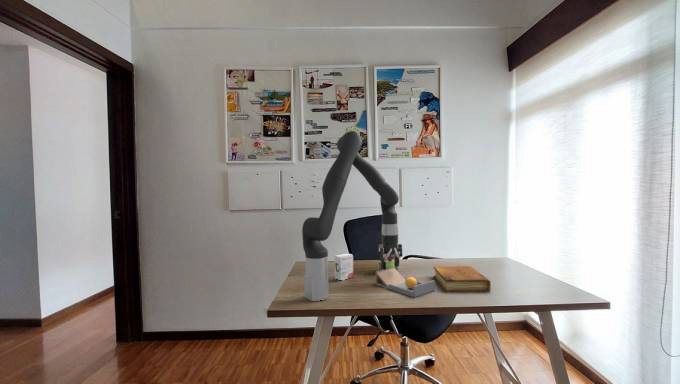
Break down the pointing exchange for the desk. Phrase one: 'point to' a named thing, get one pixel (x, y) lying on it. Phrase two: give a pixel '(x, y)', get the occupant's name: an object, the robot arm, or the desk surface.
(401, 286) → the rolling lane
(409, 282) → the ball
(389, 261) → the coffee can
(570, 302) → the desk surface
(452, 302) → the desk surface
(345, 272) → the ink box
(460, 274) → the diary
